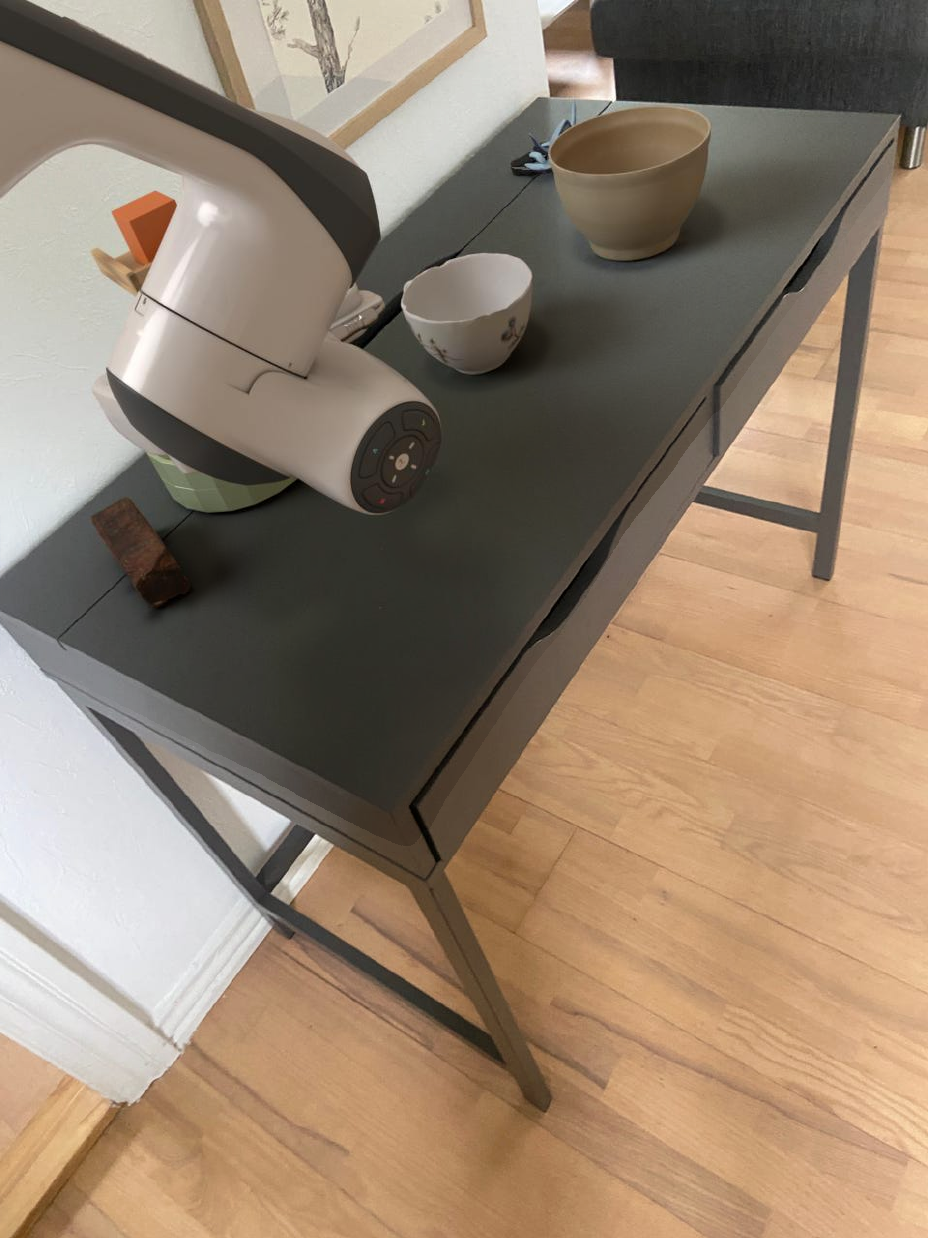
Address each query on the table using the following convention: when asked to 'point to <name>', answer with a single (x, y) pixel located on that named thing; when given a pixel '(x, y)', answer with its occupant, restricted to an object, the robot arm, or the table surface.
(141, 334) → the robot arm
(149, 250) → the block
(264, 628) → the table surface
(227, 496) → the sage green basin
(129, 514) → the brick
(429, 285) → the teacup
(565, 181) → the planter bowl
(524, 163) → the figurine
